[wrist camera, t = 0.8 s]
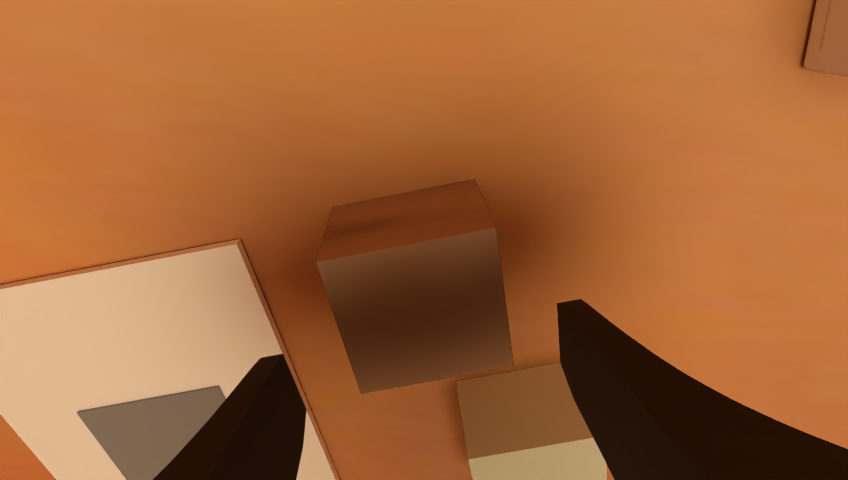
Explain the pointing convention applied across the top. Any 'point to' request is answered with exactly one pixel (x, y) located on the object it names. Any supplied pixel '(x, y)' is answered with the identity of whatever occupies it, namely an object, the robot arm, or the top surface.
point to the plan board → (135, 360)
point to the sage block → (527, 428)
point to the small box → (828, 38)
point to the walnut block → (417, 286)
